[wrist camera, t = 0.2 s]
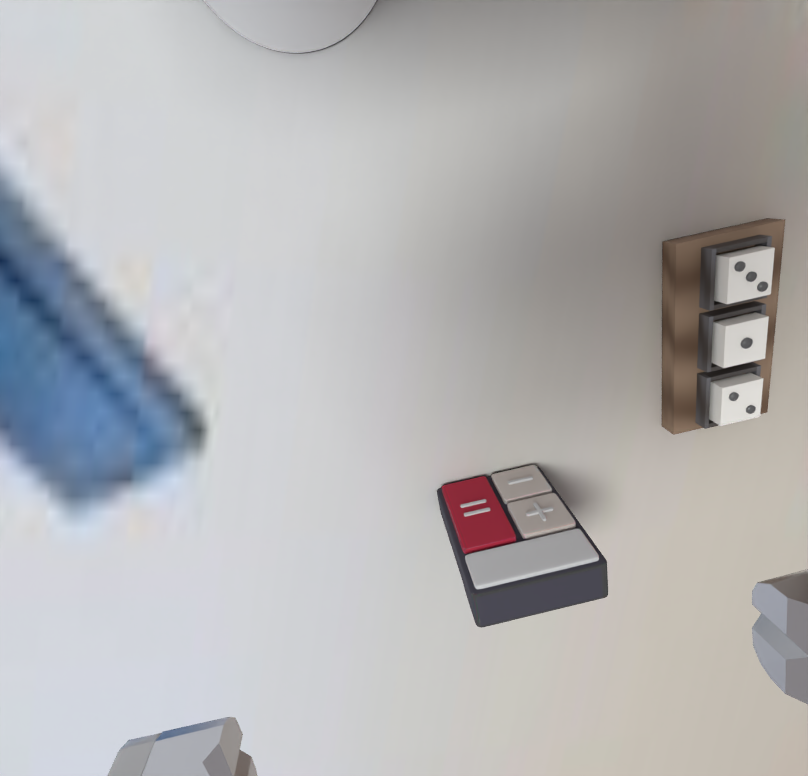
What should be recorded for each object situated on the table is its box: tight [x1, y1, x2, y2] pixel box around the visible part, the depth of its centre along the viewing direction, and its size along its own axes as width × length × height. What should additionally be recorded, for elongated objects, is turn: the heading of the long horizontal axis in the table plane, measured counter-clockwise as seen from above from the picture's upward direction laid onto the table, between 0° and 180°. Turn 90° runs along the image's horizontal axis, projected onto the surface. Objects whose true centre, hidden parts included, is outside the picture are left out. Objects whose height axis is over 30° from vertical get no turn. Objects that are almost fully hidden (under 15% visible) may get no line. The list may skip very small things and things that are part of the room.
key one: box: [712, 312, 769, 368], centre depth 46 cm, size 4×4×2 cm
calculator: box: [437, 465, 608, 627], centre depth 47 cm, size 11×4×15 cm, turn 101°
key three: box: [714, 246, 775, 304], centre depth 44 cm, size 4×4×2 cm
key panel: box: [662, 218, 785, 435], centre depth 48 cm, size 19×10×3 cm, turn 11°
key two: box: [709, 373, 763, 426], centre depth 49 cm, size 4×4×2 cm
